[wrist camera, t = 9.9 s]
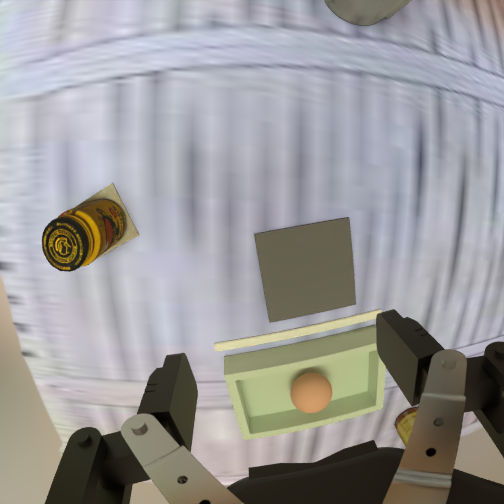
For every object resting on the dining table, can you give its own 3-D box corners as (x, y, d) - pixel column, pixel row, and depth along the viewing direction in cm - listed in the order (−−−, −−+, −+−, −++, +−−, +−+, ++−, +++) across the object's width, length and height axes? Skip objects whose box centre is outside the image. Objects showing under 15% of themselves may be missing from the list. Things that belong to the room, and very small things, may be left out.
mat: (348, 217, 40) (349, 217, 39) (354, 303, 43) (355, 304, 42) (254, 234, 39) (254, 234, 39) (269, 321, 43) (269, 322, 42)
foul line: (380, 308, 43) (381, 309, 43) (380, 315, 44) (381, 316, 43) (213, 343, 43) (213, 344, 43) (215, 350, 43) (215, 351, 43)
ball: (325, 360, 44) (336, 385, 38) (327, 390, 46) (337, 415, 40) (285, 369, 44) (291, 396, 38) (289, 398, 46) (295, 425, 40)
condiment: (139, 234, 39) (104, 263, 27) (89, 263, 39) (45, 298, 28) (113, 183, 37) (68, 192, 25) (64, 215, 37) (12, 235, 26)
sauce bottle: (419, 421, 51) (463, 490, 32) (392, 432, 51) (431, 506, 32) (423, 400, 50) (473, 471, 30) (394, 411, 50) (439, 489, 30)
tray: (374, 324, 44) (387, 339, 40) (372, 391, 48) (382, 408, 43) (224, 356, 44) (224, 375, 39) (242, 420, 47) (243, 440, 43)
